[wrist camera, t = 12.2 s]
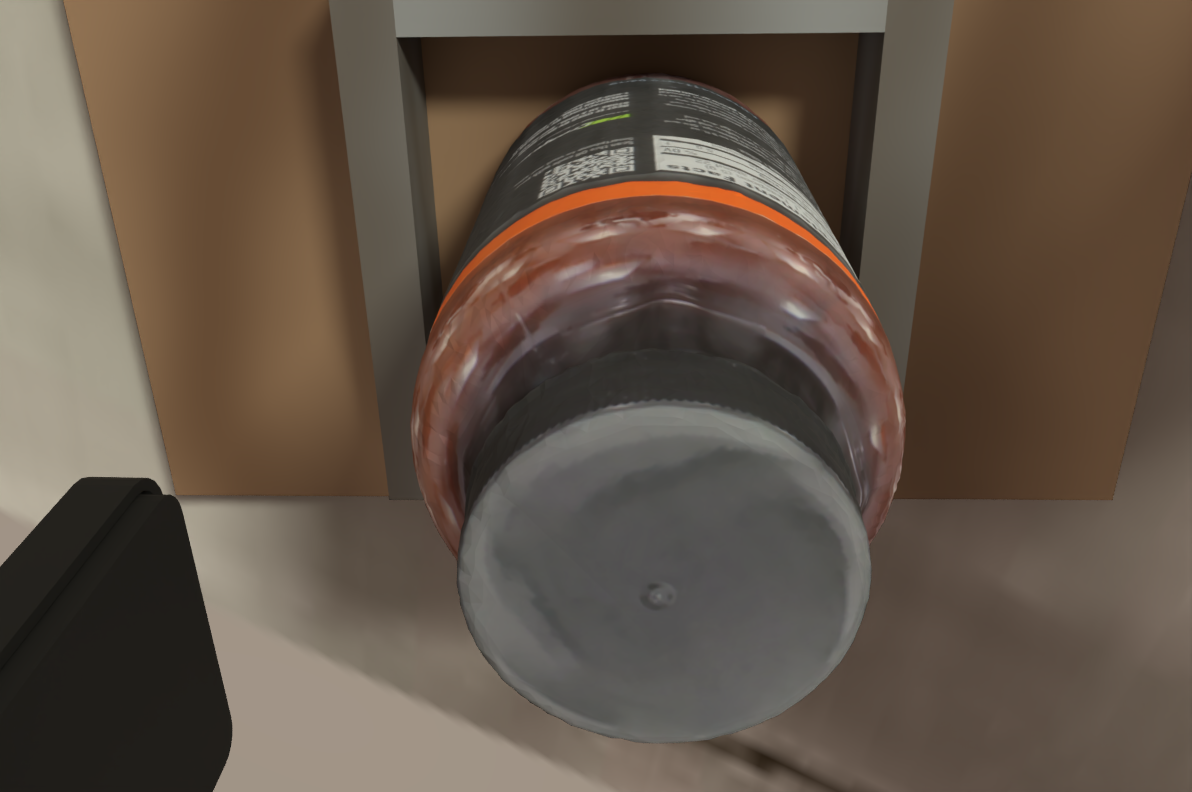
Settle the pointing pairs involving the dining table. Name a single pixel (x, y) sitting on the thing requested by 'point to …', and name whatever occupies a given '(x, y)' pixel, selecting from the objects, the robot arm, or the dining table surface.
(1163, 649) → the dining table surface
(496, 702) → the dining table surface
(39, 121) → the dining table surface
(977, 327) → the cap board
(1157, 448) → the dining table surface
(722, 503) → the supplement bottle
